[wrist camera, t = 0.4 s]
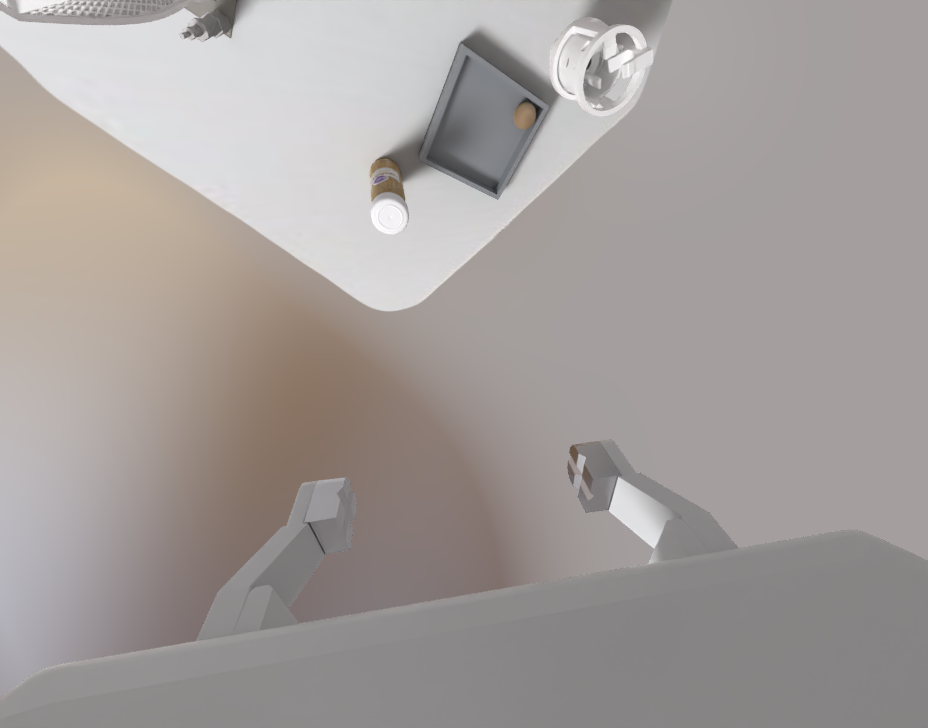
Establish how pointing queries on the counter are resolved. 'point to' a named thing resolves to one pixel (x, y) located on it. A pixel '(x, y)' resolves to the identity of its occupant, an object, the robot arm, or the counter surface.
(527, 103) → the wooden ball
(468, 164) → the tray
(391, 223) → the sprinkles bottle
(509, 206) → the counter surface
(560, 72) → the white hollow mechanical part
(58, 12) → the skyscraper
